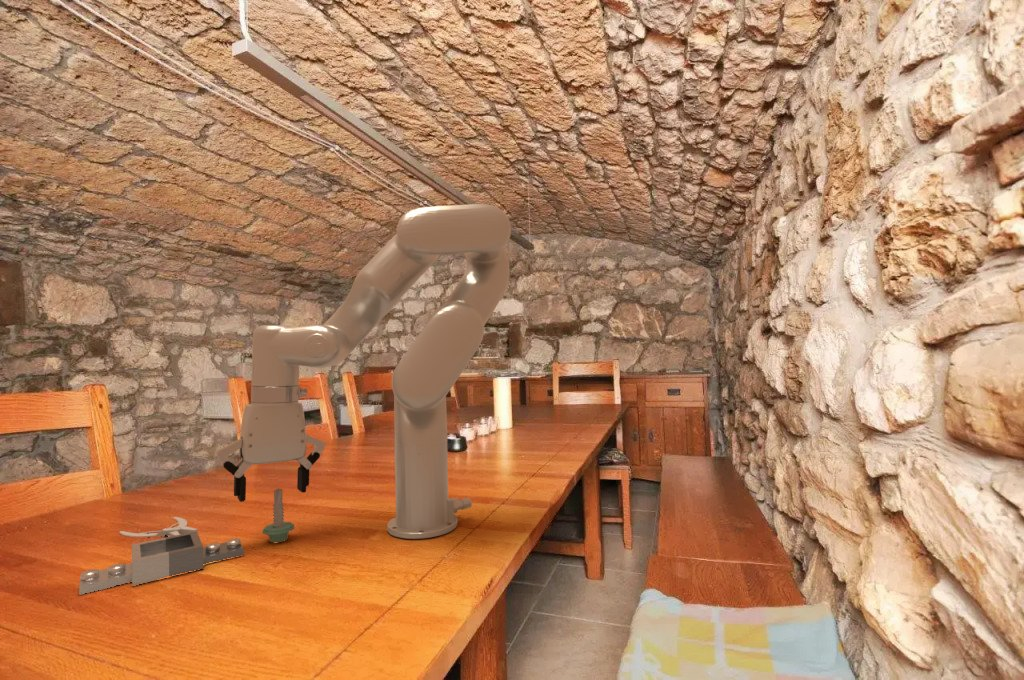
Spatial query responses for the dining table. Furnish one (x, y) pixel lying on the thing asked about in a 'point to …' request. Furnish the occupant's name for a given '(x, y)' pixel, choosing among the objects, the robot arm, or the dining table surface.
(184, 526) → the pliers
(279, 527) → the screw
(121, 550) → the dining table surface
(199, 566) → the riveted metal bracket
